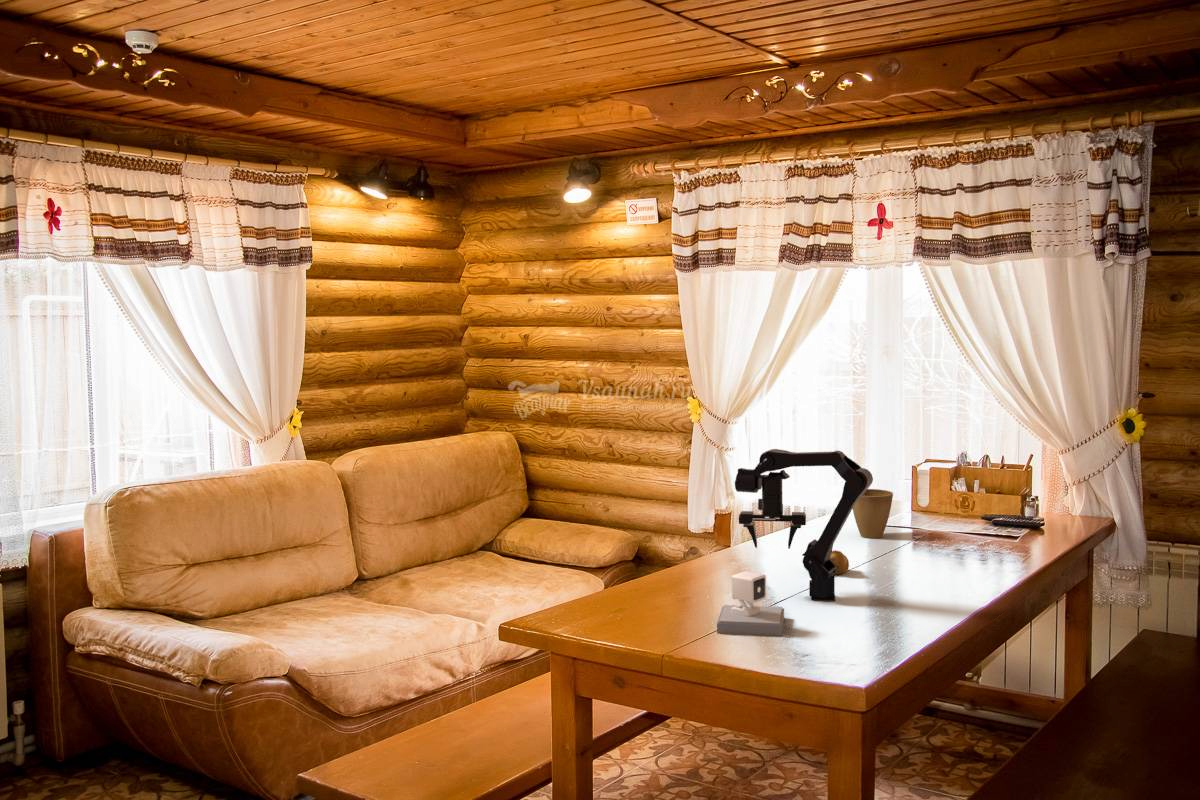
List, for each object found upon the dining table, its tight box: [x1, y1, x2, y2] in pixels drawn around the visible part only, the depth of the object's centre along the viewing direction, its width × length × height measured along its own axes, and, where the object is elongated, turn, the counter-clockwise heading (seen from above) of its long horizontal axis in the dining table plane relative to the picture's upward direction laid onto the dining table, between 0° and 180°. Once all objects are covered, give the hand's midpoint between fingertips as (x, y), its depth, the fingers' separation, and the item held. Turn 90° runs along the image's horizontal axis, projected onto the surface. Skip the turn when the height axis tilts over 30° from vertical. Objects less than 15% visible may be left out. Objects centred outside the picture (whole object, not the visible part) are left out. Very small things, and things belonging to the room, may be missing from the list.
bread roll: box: [830, 549, 850, 576], centre depth 324 cm, size 13×10×8 cm
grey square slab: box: [716, 604, 785, 637], centre depth 269 cm, size 16×16×3 cm
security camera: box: [731, 570, 767, 616], centre depth 269 cm, size 6×7×10 cm
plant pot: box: [852, 488, 894, 539], centre depth 374 cm, size 15×15×16 cm
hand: (772, 548), depth 299 cm, fingers open, 9 cm apart
